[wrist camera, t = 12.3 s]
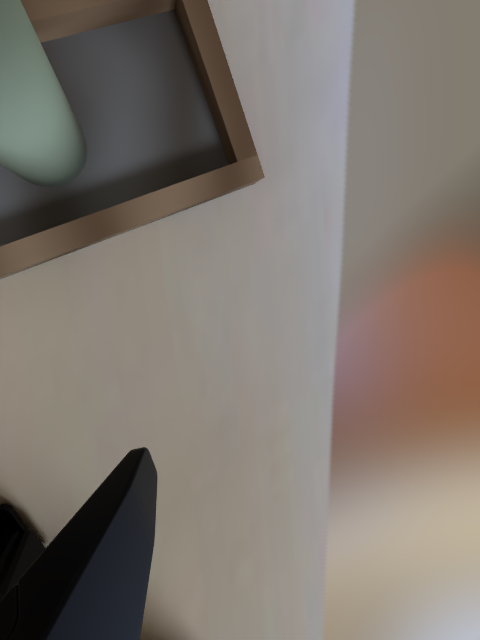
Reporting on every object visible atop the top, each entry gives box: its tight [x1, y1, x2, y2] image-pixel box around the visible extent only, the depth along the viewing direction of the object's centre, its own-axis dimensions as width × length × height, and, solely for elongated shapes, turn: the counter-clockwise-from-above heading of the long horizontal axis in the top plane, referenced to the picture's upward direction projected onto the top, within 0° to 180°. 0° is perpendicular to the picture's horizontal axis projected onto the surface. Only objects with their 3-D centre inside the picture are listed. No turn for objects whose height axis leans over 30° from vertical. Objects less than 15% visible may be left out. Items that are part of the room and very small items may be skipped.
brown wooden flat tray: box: [0, 0, 264, 279], centre depth 16 cm, size 20×10×2 cm, turn 111°
